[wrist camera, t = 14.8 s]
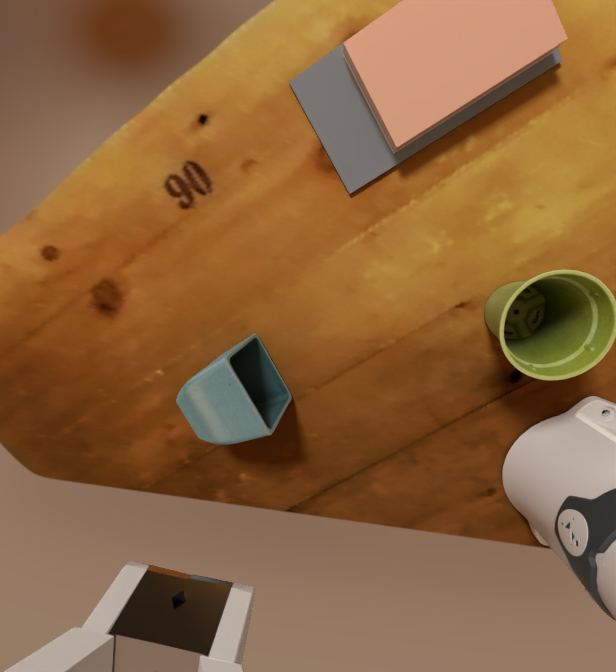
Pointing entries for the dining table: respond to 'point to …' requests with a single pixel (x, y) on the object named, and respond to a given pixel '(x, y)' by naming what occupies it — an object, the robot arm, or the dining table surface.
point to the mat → (360, 124)
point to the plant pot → (553, 323)
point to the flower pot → (236, 396)
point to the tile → (445, 58)
